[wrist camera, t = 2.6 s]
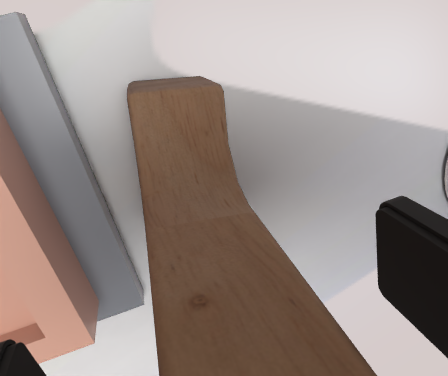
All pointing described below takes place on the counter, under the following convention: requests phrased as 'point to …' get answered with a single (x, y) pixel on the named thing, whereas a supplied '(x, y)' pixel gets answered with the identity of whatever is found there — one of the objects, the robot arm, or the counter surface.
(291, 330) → the wooden block
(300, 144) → the counter surface
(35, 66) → the baseplate
